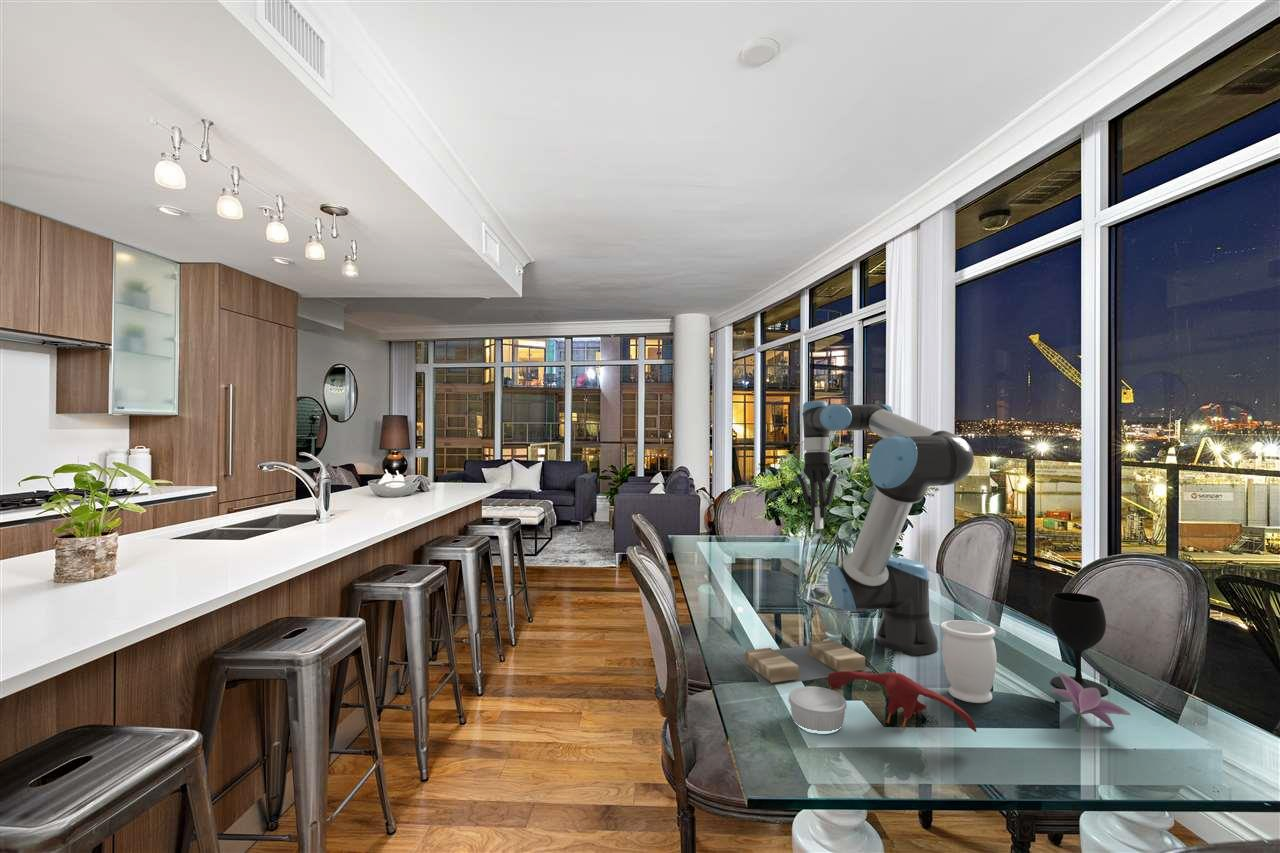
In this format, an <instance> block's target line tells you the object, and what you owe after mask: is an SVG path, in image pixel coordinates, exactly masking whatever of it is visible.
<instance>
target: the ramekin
mask: <svg viewBox="0 0 1280 853" xmlns="http://www.w3.org/2000/svg"><path fill="white" fill-rule="evenodd" d="M788 702H789V704H790V710H791V717H792V721H793V720H794V721H795V722H796V723H797V724H798V725H800V726H802V727H804V728H807V729H811V730H817V731H832V730H836V729H839V728H840V727H841V728H842V727H843V726H842V725H844V721H845V714H846V709H847V699H846V698H845V697H844V696H843V695H842V694H841V693H839V691H838V692H837V691H835V690H834V689H831V688H827V687H826V688H825V687H821V686H814V685H813V686H810V685H809V686H808V685H807V686H800V687H797V688H794V689H793V690H791V691H790V692H789V693H788ZM794 721H793V722H794ZM795 722H794V723H795Z"/></svg>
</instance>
